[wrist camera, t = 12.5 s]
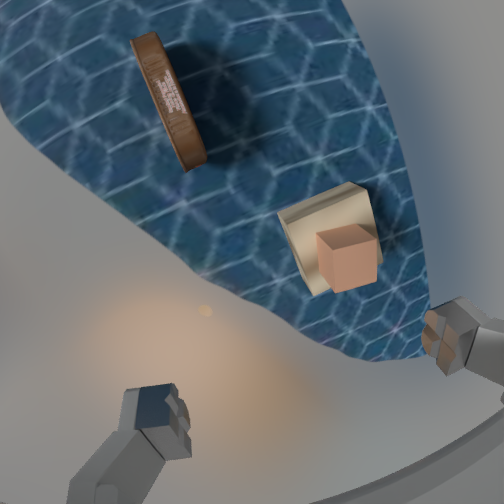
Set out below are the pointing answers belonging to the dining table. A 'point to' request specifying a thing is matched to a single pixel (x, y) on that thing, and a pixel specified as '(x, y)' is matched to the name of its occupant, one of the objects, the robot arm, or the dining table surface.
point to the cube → (347, 257)
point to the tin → (169, 100)
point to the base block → (325, 226)
